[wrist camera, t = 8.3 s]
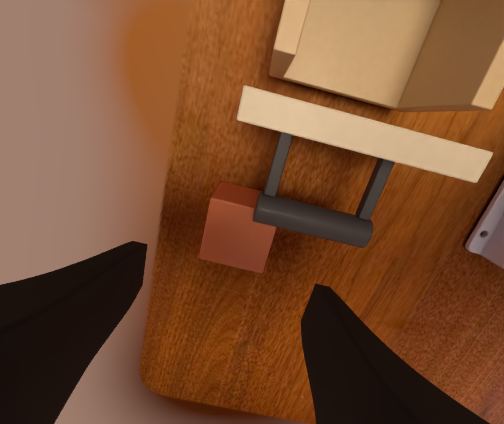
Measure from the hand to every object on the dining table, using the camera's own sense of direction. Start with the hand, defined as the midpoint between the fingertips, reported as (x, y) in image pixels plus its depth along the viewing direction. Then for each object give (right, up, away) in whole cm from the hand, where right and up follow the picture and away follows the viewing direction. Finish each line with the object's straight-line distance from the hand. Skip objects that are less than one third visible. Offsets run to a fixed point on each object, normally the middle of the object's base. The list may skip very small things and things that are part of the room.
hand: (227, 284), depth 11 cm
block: (0, +3, +8) cm, 8 cm away
